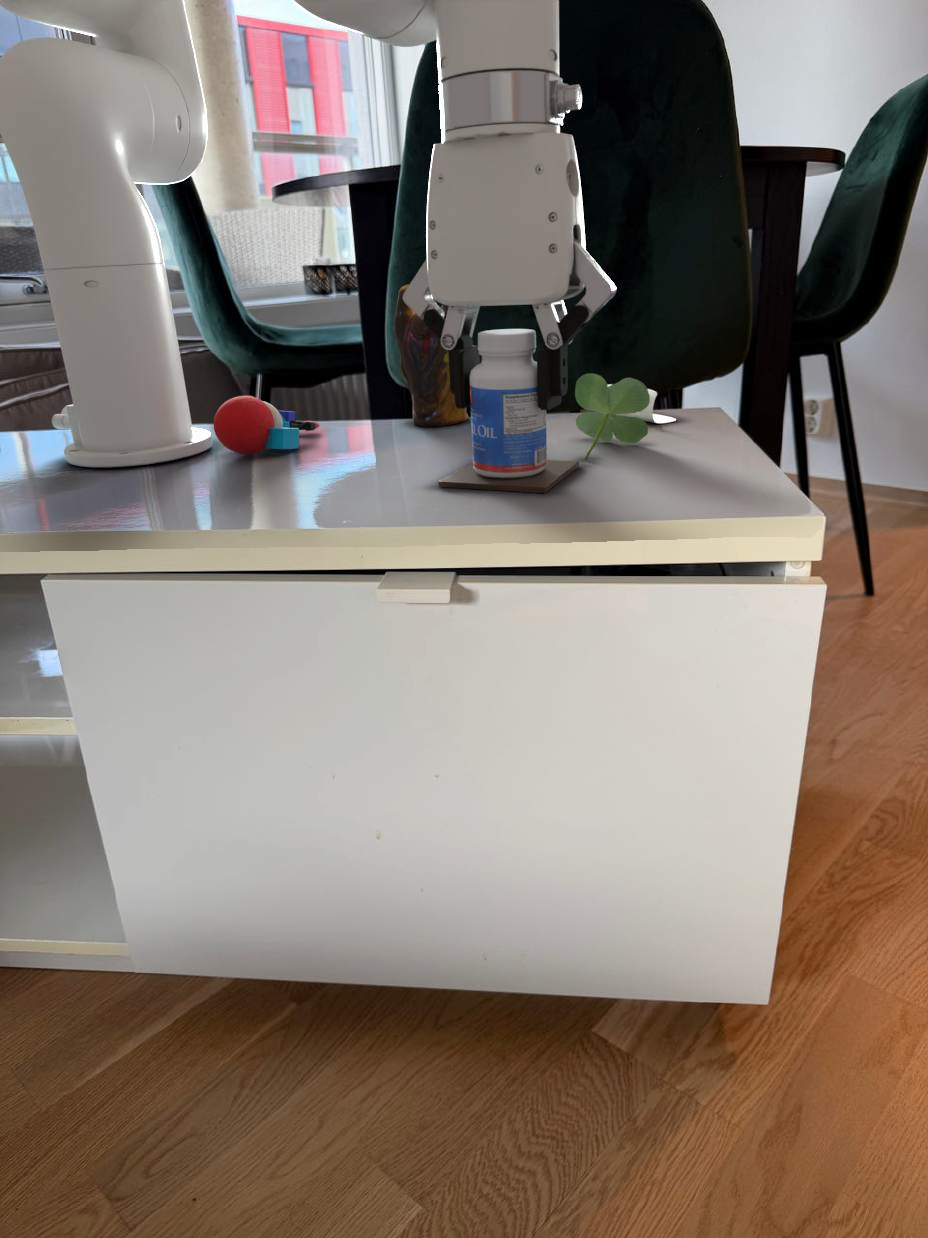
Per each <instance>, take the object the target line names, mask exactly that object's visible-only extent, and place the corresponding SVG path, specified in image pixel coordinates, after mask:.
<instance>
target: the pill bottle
mask: <svg viewBox="0 0 928 1238" xmlns="http://www.w3.org/2000/svg"><path fill="white" fill-rule="evenodd" d="M536 334H537V333H536V330H534V329H529V328H504V329H503V328H501V329H500V328H499V329H490V330H483V331H479V332H478V333H477V348H478V351H479V356H481V362H480V364H478V365H476V366H475V367H474V368H473V369H472V370H471V372H470V403H471V406H470V419H471V420H470V425H471V426H470V427H471V448H472V462H473V467H474V470H475V472H476V473H478V474H480V475H482V476H485V477H492V478H520V477H528V476H532V475H536V474H538V473H540V472H542V471H543V470H544V469H545V467H546V460H547V459H548V458H547V457H548V455H547V453H548V452H547V450H548V448H547V410H541V408H538V383H537V361H535V360H534V358H533V354H534V353H535V352H537V351H536V348H537V335H536Z"/></svg>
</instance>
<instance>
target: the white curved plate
mask: <svg viewBox="0 0 928 1238" xmlns="http://www.w3.org/2000/svg"><path fill="white" fill-rule="evenodd" d="M612 384H613V383H611V384H610V383H609V384H608V383H607V387H609V386H611V385H612ZM647 390H648V393H649V395H650V397H649V398H650V400H649V401H650V402H649V405H648V406H647V407H646V408H645V409H644V410H642V411H640V412H636V413H628V414H616V415H619V416H628V417H636V418H639V419H641V420H643V421H644V422H648V423H655V424H667V423H672V422H676V421H677V418H675V417H672V416H669V415H662V414H659V413H654V405H655V400H656V399H657V398H656V397H657V396H658V392H657V391H655V390H653V389H650V388H647Z"/></svg>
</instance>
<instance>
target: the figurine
mask: <svg viewBox="0 0 928 1238" xmlns="http://www.w3.org/2000/svg"><path fill="white" fill-rule="evenodd" d="M409 285H410V284H406V285H404V286H401V287H400V289H399V290H398V296H397V302H396V308H395V314H394V315H395V316H394V318H393V319H394V320H393V326H394V327H393V329H394V330H393V331H394V335H395V336H394V337H395V339H396V343H397V347H398V352H399V355H400V372H401V374H402V376H403V378H404V379H405V381H406V386H407V389H408V391H409V393H410V397H411V402H412V423H413V424H414V425H415V426H418V427H421V428H432V427H434V428H435V427H444V426H450V425H456V424H461V423H464V422H466V421H467V420H468V419H469V414H468V412H467V408H468V407H466V408H456V405H455V394H452V393H451V389H450V374H449V355H448V350H446V349H444V348H443V347H442V345H441V341H440V339H439V338H438V337H437V336H436V335H435V334H434V333H433V332H432V331H431V330H430V329H429V328H428V327H427V326H426V324H425V323H424V320H423V319H422V318H420V317H419V316H418V315H417V314H416V313H415V312H414V311H413V310H412V309H410V308H409V307H408V306H407V305H406V304H405V302H404V301H403V294H404V292H405V291H406V289H407V288H408V286H409ZM448 307H449V306H448V305H444V304H441V308H444V309H445V310H446V311H448Z"/></svg>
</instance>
